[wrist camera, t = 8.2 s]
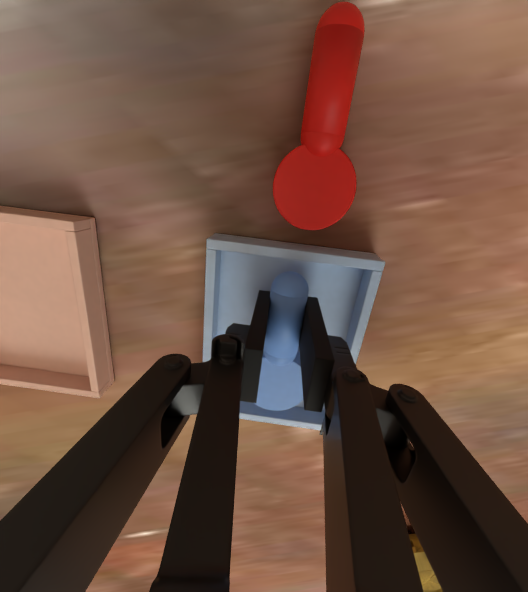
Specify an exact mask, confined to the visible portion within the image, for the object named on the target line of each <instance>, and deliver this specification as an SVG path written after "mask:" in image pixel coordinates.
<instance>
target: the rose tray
mask: <svg viewBox="0 0 528 592" xmlns="http://www.w3.org/2000/svg"><path fill="white" fill-rule="evenodd" d="M113 382H114V374H113V366H112V357H111V349H110V341H109V332H108V324H107V316H106V308H105V299H104V291H103V283H102V274H101V266H100V258H99V249H98V241H97V233H96V225H95V218H94V217H86V216H78V215H70V214H62V213H54V212H47V211H39V210H31V209H23V208H15V207H7V206H0V384H4V385H11V386H18V387H25V388H32V389H39V390H46V391H52V392H59V393H66V394H73V395H80V396H87V397H94V398H100V397H101V396H102V395H103V394H104V393H105V391H106V390H107V389H108V388H109V387H110V385H112V383H113Z"/></svg>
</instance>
